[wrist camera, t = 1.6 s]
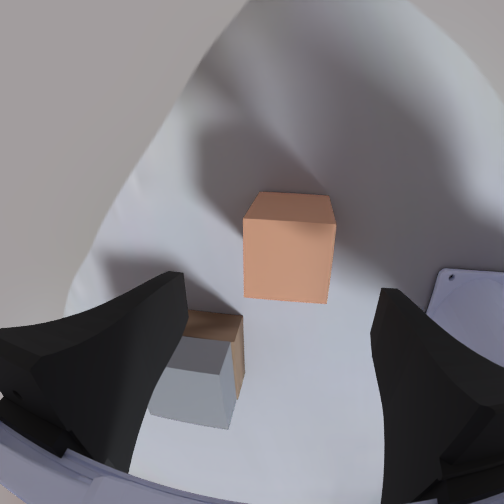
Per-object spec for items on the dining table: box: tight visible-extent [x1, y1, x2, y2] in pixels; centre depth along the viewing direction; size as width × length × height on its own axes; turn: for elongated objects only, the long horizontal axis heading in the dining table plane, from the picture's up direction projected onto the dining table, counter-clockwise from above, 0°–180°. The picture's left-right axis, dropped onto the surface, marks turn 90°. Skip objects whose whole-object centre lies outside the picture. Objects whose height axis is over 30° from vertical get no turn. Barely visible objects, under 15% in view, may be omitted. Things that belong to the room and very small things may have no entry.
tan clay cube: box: [243, 192, 336, 304], centre depth 16 cm, size 4×4×5 cm
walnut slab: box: [182, 310, 245, 399], centre depth 22 cm, size 6×6×3 cm
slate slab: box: [148, 336, 237, 430], centre depth 20 cm, size 6×6×3 cm
